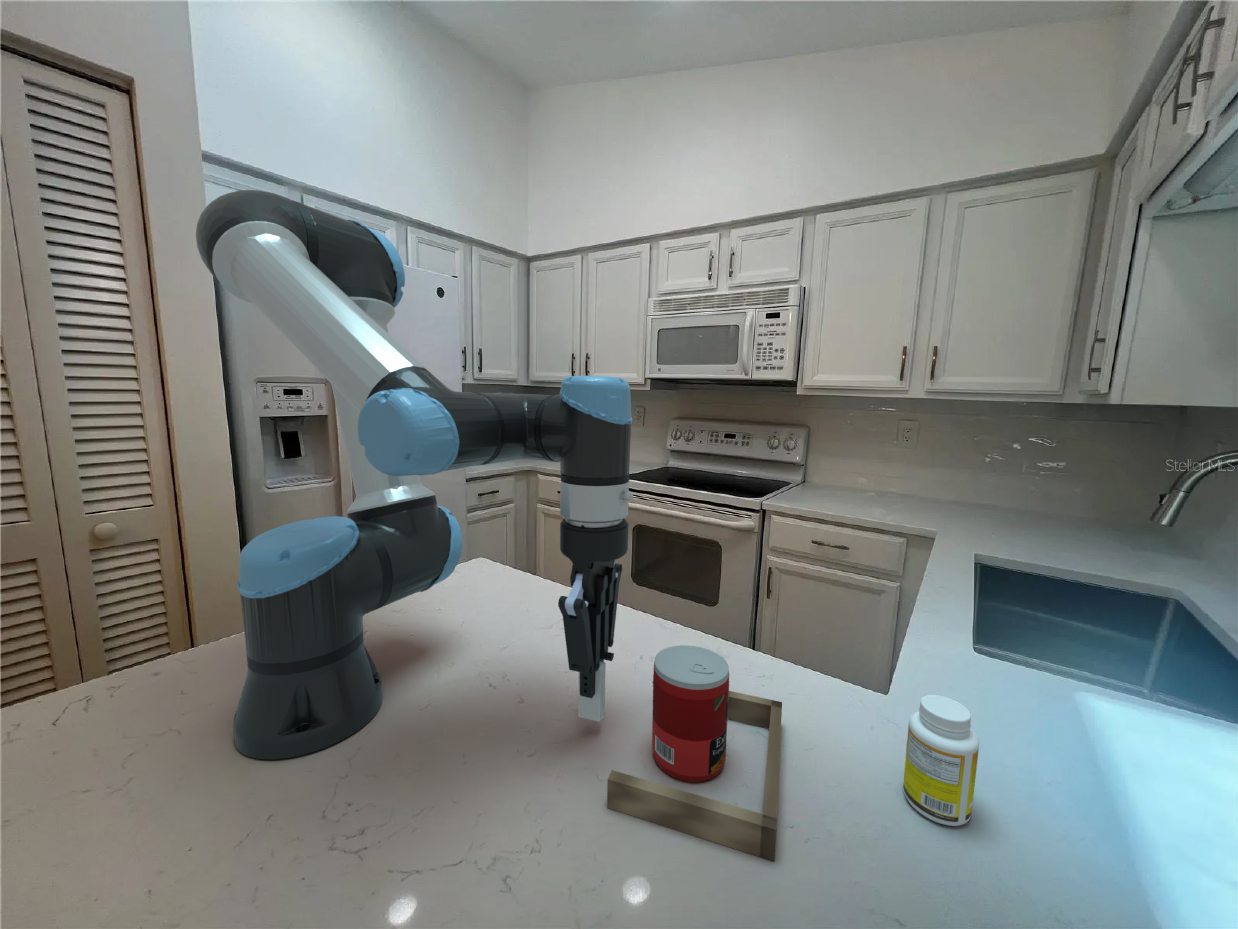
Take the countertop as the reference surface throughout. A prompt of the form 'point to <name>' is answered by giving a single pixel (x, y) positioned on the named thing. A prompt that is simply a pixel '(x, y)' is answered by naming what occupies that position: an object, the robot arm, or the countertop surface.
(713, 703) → the canned food
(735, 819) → the bay
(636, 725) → the countertop surface
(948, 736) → the supplement bottle
